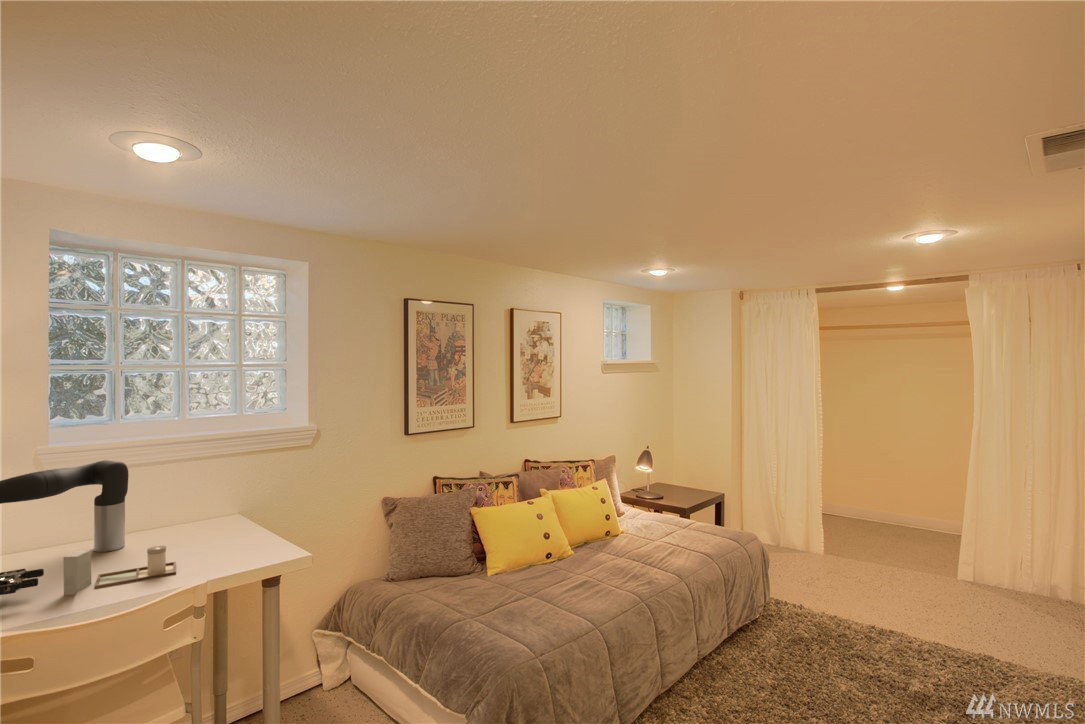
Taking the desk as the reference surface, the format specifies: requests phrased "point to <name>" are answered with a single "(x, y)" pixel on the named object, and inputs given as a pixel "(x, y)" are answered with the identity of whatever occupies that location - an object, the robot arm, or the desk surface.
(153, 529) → the desk surface
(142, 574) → the organizer
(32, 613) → the desk surface
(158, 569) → the cream jar
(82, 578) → the skincare box
